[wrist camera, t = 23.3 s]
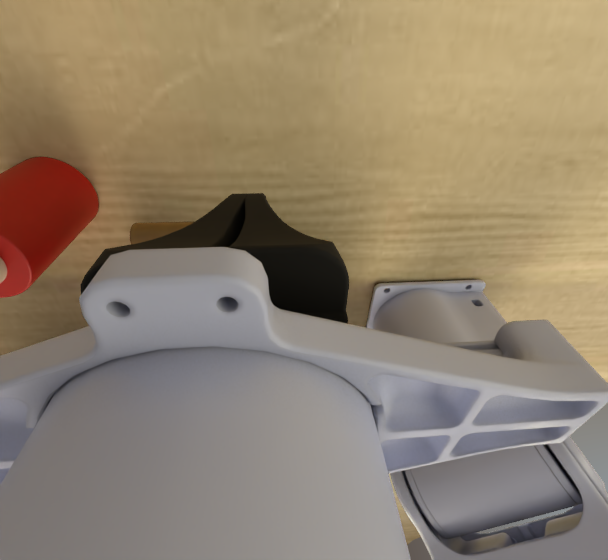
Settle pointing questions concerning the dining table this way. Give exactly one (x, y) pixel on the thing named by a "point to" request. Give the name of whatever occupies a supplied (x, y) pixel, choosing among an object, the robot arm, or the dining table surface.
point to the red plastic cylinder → (39, 218)
